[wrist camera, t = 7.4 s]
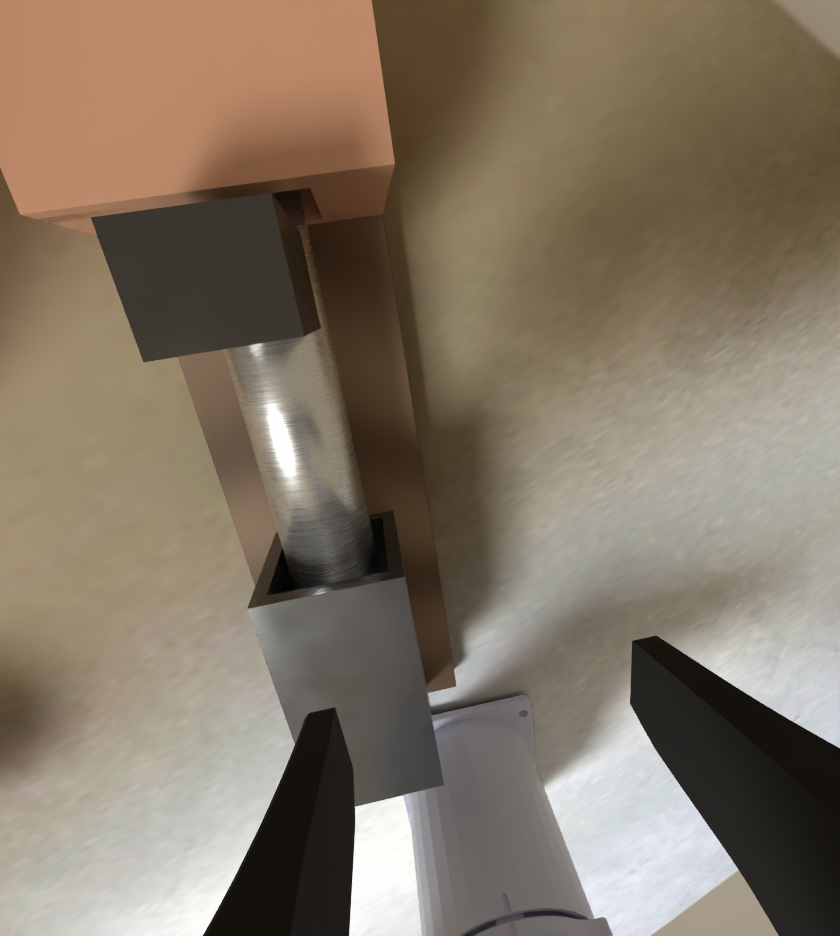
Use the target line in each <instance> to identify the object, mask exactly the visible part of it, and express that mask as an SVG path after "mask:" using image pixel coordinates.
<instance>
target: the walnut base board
mask: <svg viewBox="0 0 840 936" xmlns="http://www.w3.org/2000/svg"><path fill="white" fill-rule="evenodd" d="M307 228H308V232H309V237H310V242H311V246H312V251H313V256H314V261H315V265H316V270H317V275H318V279H319V284H320V289H321V294H322V298H323V303H324V308H325V312H326V317H327V322H328V327H329V331H330V336H331V341H332V345H333V350H334V355H335V360H336V364H337V369H338V374H339V378H340V383H341V388H342V393H343V397H344V402H345V407H346V411H347V416H348V421H349V426H350V430H351V435H352V440H353V444H354V449H355V454H356V459H357V463H358V468H359V473H360V478H361V482H362V487H363V492H364V496H365V501H366V506H367V511H368V515H371V514H376V513H382V512H387V511H392V510H393V511H394V516H395V522H396V527H397V532H398V537H399V543H400V548H401V553H402V559H403V564H404V569H405V575H406V580H407V585H408V591H409V596H410V601H411V606H412V612H413V617H414V622H415V628H416V633H417V638H418V644H419V649H420V654H421V660H422V665H423V670H424V675H425V681H426V686H427V692H428V693H429V692H433V691H438V690H442V689H447V688H451V687H456V681H455V675H454V668H453V662H452V655H451V649H450V643H449V636H448V630H447V623H446V617H445V611H444V604H443V598H442V591H441V585H440V579H439V572H438V566H437V559H436V553H435V547H434V540H433V534H432V527H431V521H430V515H429V508H428V502H427V495H426V489H425V483H424V476H423V470H422V463H421V457H420V451H419V444H418V438H417V431H416V425H415V419H414V412H413V406H412V399H411V393H410V387H409V380H408V374H407V367H406V361H405V355H404V348H403V342H402V335H401V329H400V323H399V316H398V310H397V303H396V297H395V291H394V284H393V278H392V271H391V265H390V259H389V252H388V246H387V239H386V233H385V227H384V220H383V214H382V215H375V216H368V217H361V218H354V219H347V220H340V221H333V222H326V223H319V224H312V225H307ZM178 359H179V362H180V365H181V368H182V370H183V373H184V376H185V379H186V382H187V385H188V388H189V391H190V394H191V397H192V400H193V403H194V406H195V409H196V412H197V415H198V418H199V421H200V424H201V427H202V430H203V433H204V436H205V439H206V442H207V445H208V448H209V450H210V453H211V456H212V459H213V462H214V465H215V468H216V471H217V474H218V477H219V480H220V483H221V486H222V489H223V492H224V495H225V498H226V501H227V504H228V507H229V510H230V513H231V516H232V519H233V522H234V525H235V528H236V531H237V533H238V536H239V539H240V542H241V545H242V548H243V551H244V554H245V557H246V560H247V563H248V566H249V569H250V572H251V575H252V578H253V581H254V584H255V587H256V584H257V582H258V579H259V576H260V574H261V571H262V568H263V566H264V563H265V560H266V558H267V555H268V552H269V550H270V547H271V544H272V542H273V539H274V536H275V534H276V533H277V532H278V531H277V528H276V524H275V521H274V518H273V514H272V511H271V508H270V504H269V501H268V498H267V494H266V491H265V488H264V484H263V481H262V478H261V474H260V471H259V468H258V464H257V461H256V458H255V454H254V451H253V448H252V444H251V441H250V438H249V434H248V431H247V428H246V424H245V421H244V417H243V414H242V411H241V407H240V404H239V401H238V397H237V394H236V391H235V387H234V384H233V381H232V377H231V374H230V371H229V367H228V364H227V361H226V357H225V354H224V351H223V350H216V351H210V352H204V353H198V354H192V355H185V356H179V357H178Z"/></svg>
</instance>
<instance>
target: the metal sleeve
mask: <svg viewBox="0 0 840 936" xmlns="http://www.w3.org/2000/svg"><path fill="white" fill-rule="evenodd" d="M369 520H370V525H371V529H372V534H373V539H374V544H375V548H376V553H377V558H378V562H379V567H380V572H381V573H377V574H372V575H367V576H362V577H358V578H353V579H348V580H343V581H338V582H333V583H328V584H323V585H318V586H313V587H308V588H303V589H298V590H295V588H294V584H293V581H292V578H291V574H290V571H289V568H288V564H287V561H286V558H285V554H284V551H283V548H282V544H281V541H280V538H279V534H278V532H277V533H276V534H275V536H274V539H273V542H272V544H271V547H270V550H269V552H268V555H267V558H266V560H265V563H264V566H263V568H262V571H261V574H260V576H259V579H258V582H257V584H256V587H255V590H254V592H253V595H252V598H251V600H250V603H249V606H248V608H247V609H248V612H249V615H250V618H251V621H252V624H253V626H254V629H255V632H256V635H257V638H258V641H259V643H260V646H261V649H262V652H263V655H264V658H265V660H266V663H267V666H268V669H269V672H270V675H271V677H272V680H273V683H274V686H275V689H276V692H277V694H278V697H279V700H280V703H281V706H282V709H283V711H284V714H285V717H286V720H287V723H288V726H289V728H290V731H291V734H292V737H293V740H294V743H295V744H296V741H297V739H298V736H299V733H300V731H301V728H302V725H303V722H304V719H305V717H306V716H307V715H308V714H309V713H311V712H316V711H320V710H325V709H329V708H334V707H335V708H336V711H337V715H338V718H339V722H340V725H341V728H342V732H343V735H344V739H345V742H346V745H347V749H348V752H349V756H350V759H351V762H352V766H353V774H354V799H355V806H359V805H363V804H368V803H372V802H376V801H380V800H384V799H389V798H393V797H397V796H401V795H405V794H409V793H414V792H418V791H422V790H426V789H430V788H435V787H439V786H443V785H444V781H443V775H442V770H441V764H440V759H439V753H438V747H437V742H436V736H435V731H434V725H433V720H432V714H431V708H430V703H429V697H428V692H427V686H426V681H425V675H424V670H423V665H422V660H421V654H420V649H419V644H418V638H417V633H416V628H415V622H414V617H413V612H412V606H411V601H410V596H409V591H408V585H407V580H406V575H405V569H404V564H403V559H402V553H401V548H400V543H399V537H398V532H397V527H396V522H395V516H394V511H393V510H392V511H387V512H382V513H376V514H371V515H369Z"/></svg>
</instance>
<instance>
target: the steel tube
mask: <svg viewBox="0 0 840 936" xmlns="http://www.w3.org/2000/svg"><path fill="white" fill-rule="evenodd" d="M91 220H92V223H93V225H94V228H95V231H96V233H97V236H98V239H99V242H100V244H101V247H102V250H103V253H104V255H105V258H106V261H107V263H108V266H109V269H110V272H111V274H112V277H113V280H114V283H115V285H116V288H117V291H118V294H119V296H120V299H121V302H122V304H123V307H124V310H125V313H126V315H127V318H128V321H129V324H130V326H131V329H132V332H133V334H134V337H135V340H136V343H137V345H138V348H139V351H140V354H141V356H142V359H143V362H148V361H154V360H161V359H167V358H173V357H179V356H185V355H192V354H198V353H204V352H210V351H216V350H223V351H224V354H225V357H226V361H227V364H228V367H229V371H230V374H231V377H232V381H233V384H234V387H235V391H236V394H237V397H238V401H239V404H240V407H241V411H242V414H243V417H244V421H245V424H246V428H247V431H248V434H249V438H250V441H251V444H252V448H253V451H254V454H255V458H256V461H257V464H258V468H259V471H260V474H261V478H262V481H263V484H264V488H265V491H266V494H267V498H268V501H269V504H270V508H271V511H272V514H273V518H274V521H275V524H276V528H277V531H278V534H279V538H280V541H281V544H282V548H283V551H284V554H285V558H286V561H287V564H288V568H289V571H290V574H291V578H292V581H293V584H294V588H295V590H298V589H303V588H308V587H313V586H318V585H323V584H328V583H333V582H338V581H343V580H348V579H353V578H358V577H362V576H367V575H372V574H377V573H381V572H380V567H379V562H378V558H377V553H376V548H375V544H374V539H373V534H372V529H371V525H370V520H369V515H368V511H367V506H366V501H365V496H364V492H363V487H362V482H361V478H360V473H359V468H358V463H357V459H356V454H355V449H354V444H353V440H352V435H351V430H350V426H349V421H348V416H347V411H346V407H345V402H344V397H343V393H342V388H341V383H340V378H339V374H338V369H337V364H336V360H335V355H334V350H333V345H332V341H331V336H330V331H329V327H328V322H327V317H326V312H325V308H324V303H323V298H322V294H321V289H320V284H319V279H318V275H317V270H316V265H315V261H314V256H313V251H312V246H311V242H310V237H309V232H308V228H307V223H306V218H305V213H304V209H303V204H302V199H301V195H300V190H299V189H298V190H291V191H284V192H276V193H265V194H258V195H250V196H243V197H236V198H228V199H221V200H214V201H207V202H199V203H192V204H185V205H177V206H170V207H163V208H155V209H148V210H141V211H133V212H126V213H119V214H112V215H104V216H97V217H91Z"/></svg>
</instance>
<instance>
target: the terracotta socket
mask: <svg viewBox="0 0 840 936" xmlns="http://www.w3.org/2000/svg"><path fill="white" fill-rule="evenodd" d="M394 166H395V161H394V154H393V147H392V140H391V133H390V126H389V118H388V111H387V104H386V97H385V90H384V83H383V76H382V69H381V62H380V55H379V48H378V41H377V34H376V27H375V20H374V13H373V6H372V0H0V168H1V170H2V173H3V175H4V178H5V180H6V182H7V185H8V187H9V190H10V192H11V194H12V197H13V199H14V202H15V204H16V206H17V209H18V211H19V214H20V215H23V216H27V217H30V218H34V219H37V220H41V221H45V222H48V223H52V224H55V225H59V226H62V227H66V228H69V229H73V230H76V231H80V232H84V233H87V234H91V235H94V236H97V233H96V231H95V228H94V225H93V223H92V220H91V217H97V216H104V215H112V214H119V213H126V212H133V211H141V210H148V209H155V208H163V207H170V206H177V205H185V204H192V203H199V202H207V201H214V200H221V199H228V198H236V197H243V196H250V195H258V194H265V193H276V192H284V191H291V190H298V189H299V190H300V195H301V199H302V204H303V209H304V213H305V218H306V223H307V225H312V224H319V223H326V222H333V221H340V220H347V219H354V218H361V217H368V216H375V215H382V214H383V211H384V207H385V203H386V198H387V194H388V190H389V186H390V182H391V178H392V174H393V170H394Z"/></svg>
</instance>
